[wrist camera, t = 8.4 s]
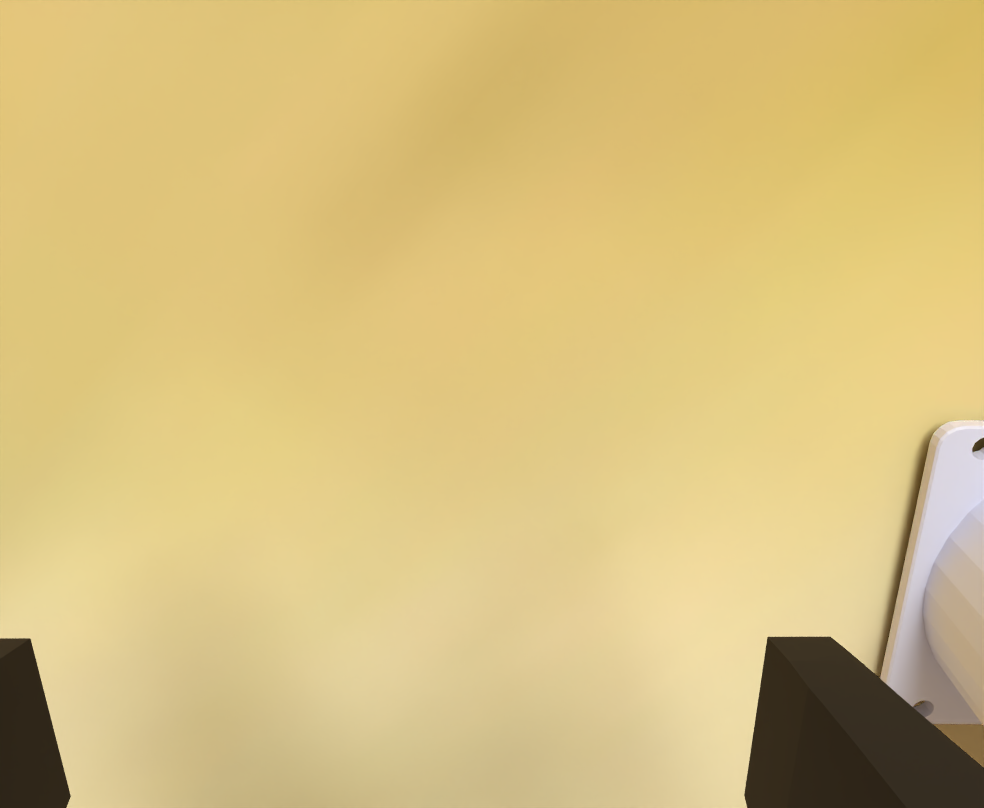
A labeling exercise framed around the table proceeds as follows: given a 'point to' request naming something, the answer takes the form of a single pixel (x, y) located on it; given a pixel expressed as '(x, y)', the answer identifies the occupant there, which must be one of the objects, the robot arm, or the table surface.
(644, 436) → the table surface
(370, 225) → the table surface
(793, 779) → the robot arm
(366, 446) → the table surface
